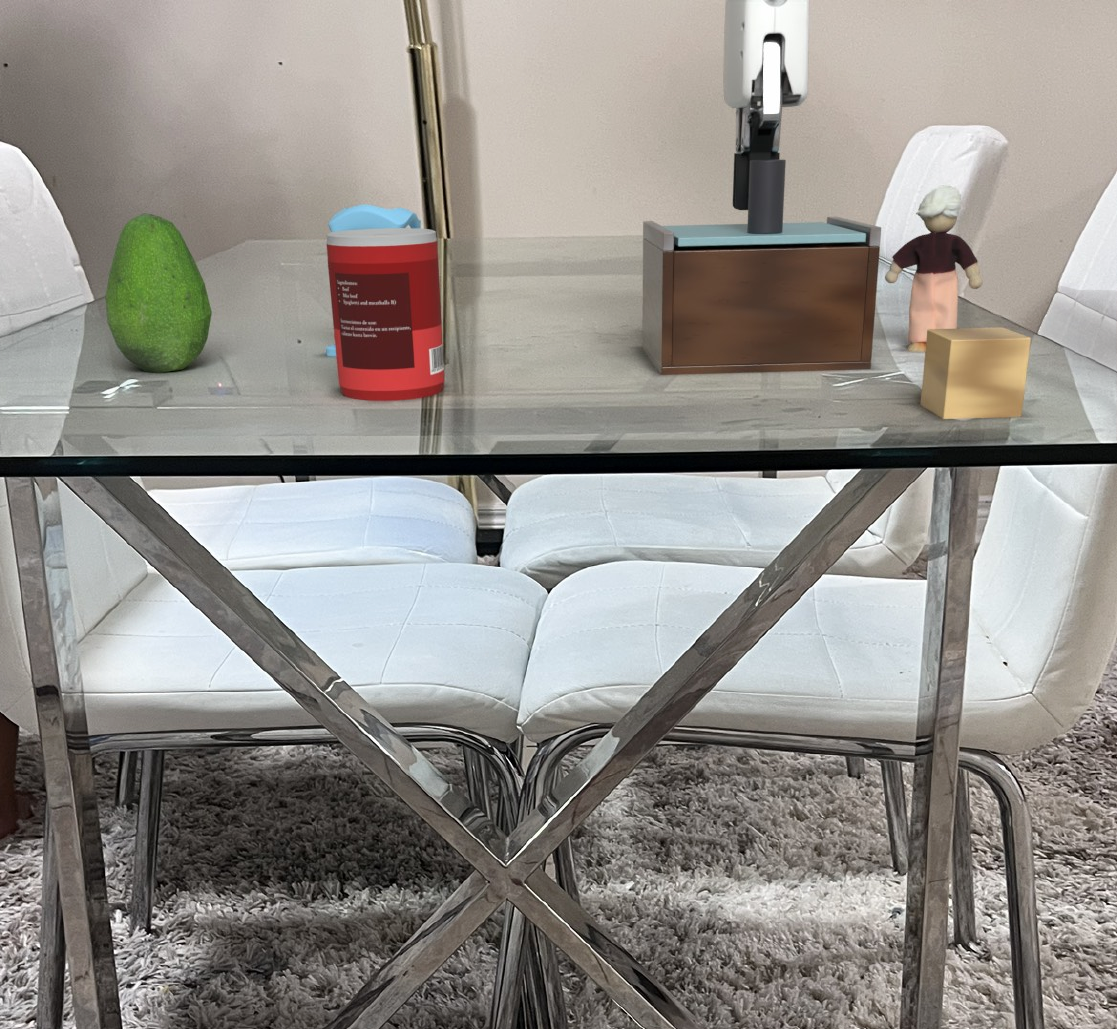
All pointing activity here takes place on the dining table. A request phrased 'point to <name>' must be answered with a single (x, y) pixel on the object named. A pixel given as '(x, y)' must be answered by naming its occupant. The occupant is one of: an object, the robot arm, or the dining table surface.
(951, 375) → the block
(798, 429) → the dining table surface
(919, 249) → the grandmother figurine
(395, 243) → the canned food
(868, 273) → the box
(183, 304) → the avocado
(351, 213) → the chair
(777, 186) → the lid
